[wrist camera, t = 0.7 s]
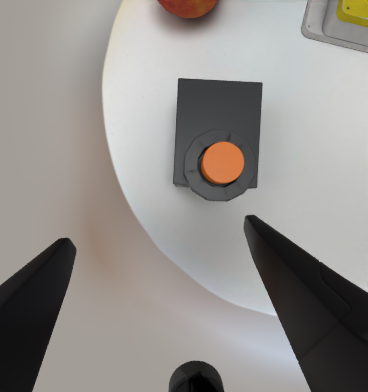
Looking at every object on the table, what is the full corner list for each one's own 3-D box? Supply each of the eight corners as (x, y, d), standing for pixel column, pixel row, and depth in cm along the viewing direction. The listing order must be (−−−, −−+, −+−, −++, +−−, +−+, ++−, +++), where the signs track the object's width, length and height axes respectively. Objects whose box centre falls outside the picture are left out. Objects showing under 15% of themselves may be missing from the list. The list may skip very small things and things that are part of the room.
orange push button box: (239, 200, 23) (265, 203, 16) (174, 197, 22) (171, 198, 16) (244, 108, 22) (272, 69, 15) (179, 104, 22) (177, 64, 15)
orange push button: (236, 185, 16) (243, 183, 14) (200, 183, 16) (201, 182, 14) (238, 148, 16) (245, 142, 14) (201, 146, 16) (204, 140, 14)
